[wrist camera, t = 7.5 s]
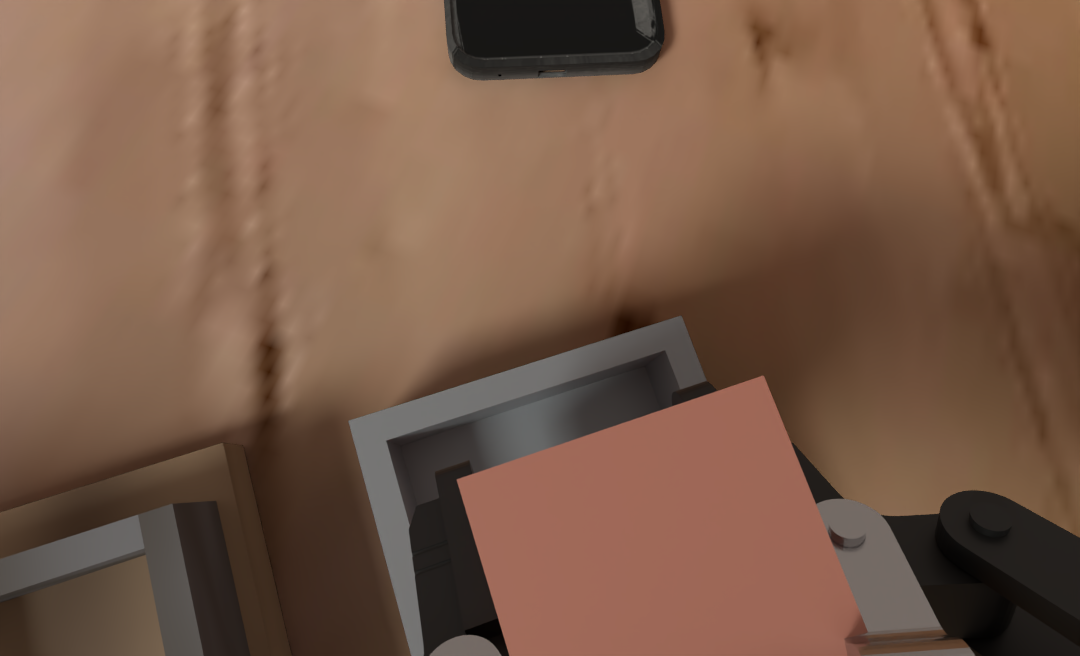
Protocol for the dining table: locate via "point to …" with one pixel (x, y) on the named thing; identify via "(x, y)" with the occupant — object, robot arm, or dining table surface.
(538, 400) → the box
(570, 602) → the block
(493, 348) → the dining table surface
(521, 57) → the phone
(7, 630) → the dark grey double holder
